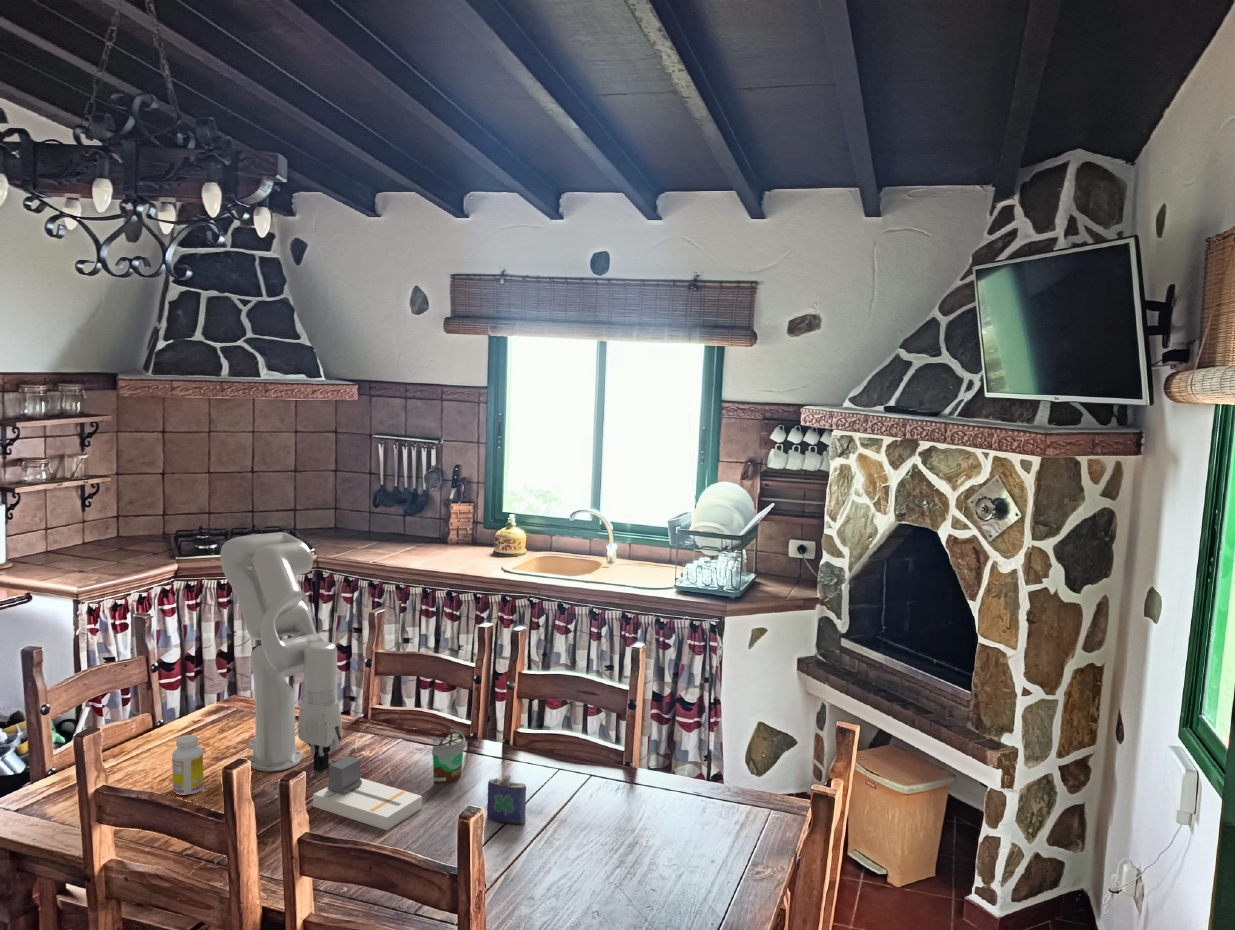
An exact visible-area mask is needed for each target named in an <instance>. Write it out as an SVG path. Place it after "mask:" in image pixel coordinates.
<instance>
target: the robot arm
mask: <svg viewBox="0 0 1235 930" xmlns="http://www.w3.org/2000/svg"><path fill="white" fill-rule="evenodd" d="M310 549H311V548H309V546H308V544H306V543H305V542H304V541H303V540H301V539H298V538H297V537H295V536H293V535H292V534H289V533H287V532H281V531H278V532H269V533H268V532H267V533H260V534H249V535H248V534H247V535H242V536H237V537H233V538H230V539H229V540H227V541H225V542H224V543H223V545H222V546H221V548H220V553H219V554H220V555H219V557H220V565H221V568H222V572H223V574H224V577H225V578H226V580H227V582H228V583H229V584H230V587H231V588H232V590H233V593H235V596H236V599H237V602H238V605H239V608H240V613H241V615H242V619H243V622H244V625H245V627H246V631H247V633H248V635H249V636H250V638H251V639H253V640H256V641H257V640H258V641H260V643H261V644H259V645H257V646H256V647H255V648H254V649H253V650H252V652H251V654H250V667H251V672H252V676H253V677H252V678H253V683H254V699H255V700H254V706H255V714H254V715H255V716H254V717H255V721H254V722H255V723H254V724H255V737H253V738H252V739H251V740H250V743H248V744H247V746H246V747H247V749H249V750H252V751H253V753H252V755H251V757H250V758H249V760H250V761H251V766H252V767H251V766H250V767H251V769H253V770H255V769H257V770H256V771H259V772H278V771H283V770H287V769H290V768H293V767H295V766H297V765H298V764H299V763H300V762H301V761H302V752H301V751H300V750H298V749H297V748H296V706H295V705H296V697H295V696H296V695H295V690H294V689H293V687H292V686H291V685H290V684H289V683H288V682H287V681H286V678H288V677H292V676H295V675H296V676H297V675H299V674H300V675H301V674H303V688H302V692H303V699H301V702H300V705H299V712H298V722H297V724H298V725H297V735H298V736H297V737H298V739H299V740H300V741H301V742H304V743H305V744H307V745H308V746H309V748H310V752H311V754H312V755H313V771H314V772H317V773H321V772H323V771H325V770H327V769H329V753H331V752H332V751H333V752H334V751H337V750H339V749H340V747H341V746H340V741H341V740H342V736H343V735H342V734H343V728H342V727H343V725H342V713H341V708H340V702H339V700H338V648H337V646H336V644H334V642H330V641H328V640H327V639H326V637H325V636H323V635H322V634H320V633H317V629H316V627H315V624H314V621H313V619H312V615H311V612H310V609H309V608H308V606H307V604H306V602H304V600H303V597H304V596H303V595H304V594H303V591H302V588H301V586H300V584H299V582H298V579H297V576H299V575H304V574H307V573H309V572H310V571H311V570H312V568H313V564H314V559H313V553H312V552H311V550H310ZM285 636H290V637H288V638H281V637H285ZM280 638H281V639H280Z"/></svg>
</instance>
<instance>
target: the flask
mask: <svg viewBox="0 0 1235 930" xmlns="http://www.w3.org/2000/svg"><path fill="white" fill-rule="evenodd" d="M510 779H511V775H510V774H507V775H504V776H503V777H502V779H500V778H498V777H495V778H491V779H489V780H488V782H487V803H486V804H487V805H486V806H487V807H486V817H487V818H486V820H488V821H490V822H494V823H498V824H506V825H512V826H513V825H514V826H523V825H525V823H526V808H527V807H526V804H527V803H526V801H527V800H526V799H527V797H526V795H527V793H526V792H527V785H526V784H525V783H521V782H510Z"/></svg>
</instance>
